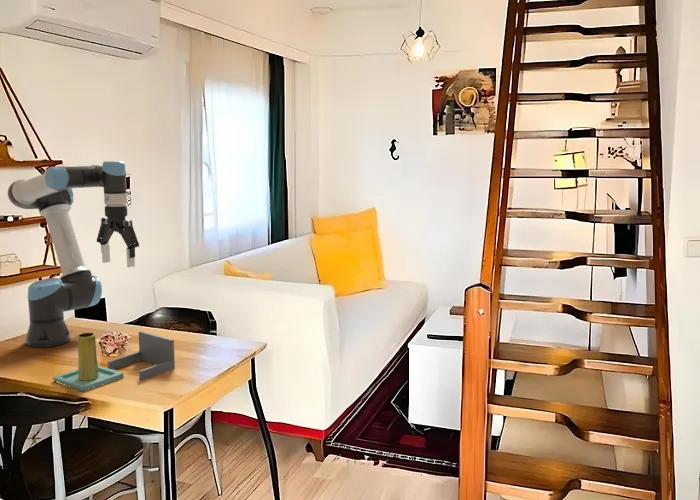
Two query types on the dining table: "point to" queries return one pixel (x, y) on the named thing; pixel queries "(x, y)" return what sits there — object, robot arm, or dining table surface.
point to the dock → (149, 355)
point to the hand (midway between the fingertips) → (118, 264)
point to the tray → (104, 377)
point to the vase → (87, 357)
